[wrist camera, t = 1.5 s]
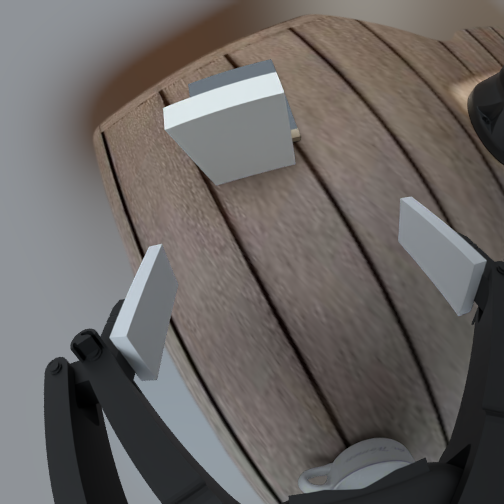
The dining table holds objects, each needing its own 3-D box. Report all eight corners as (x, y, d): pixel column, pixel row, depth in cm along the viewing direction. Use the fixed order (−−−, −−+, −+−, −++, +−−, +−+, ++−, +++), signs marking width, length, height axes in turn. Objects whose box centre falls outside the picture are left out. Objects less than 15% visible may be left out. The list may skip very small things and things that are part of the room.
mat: (300, 139, 34) (300, 137, 33) (201, 166, 36) (200, 165, 36) (271, 60, 36) (271, 59, 36) (189, 85, 38) (188, 84, 38)
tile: (295, 164, 34) (284, 92, 20) (216, 185, 35) (164, 130, 22) (290, 146, 34) (275, 71, 20) (212, 167, 36) (163, 107, 22)
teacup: (421, 437, 26) (442, 467, 18) (377, 496, 25) (386, 531, 18) (327, 411, 29) (330, 443, 21) (287, 474, 29) (280, 511, 21)
